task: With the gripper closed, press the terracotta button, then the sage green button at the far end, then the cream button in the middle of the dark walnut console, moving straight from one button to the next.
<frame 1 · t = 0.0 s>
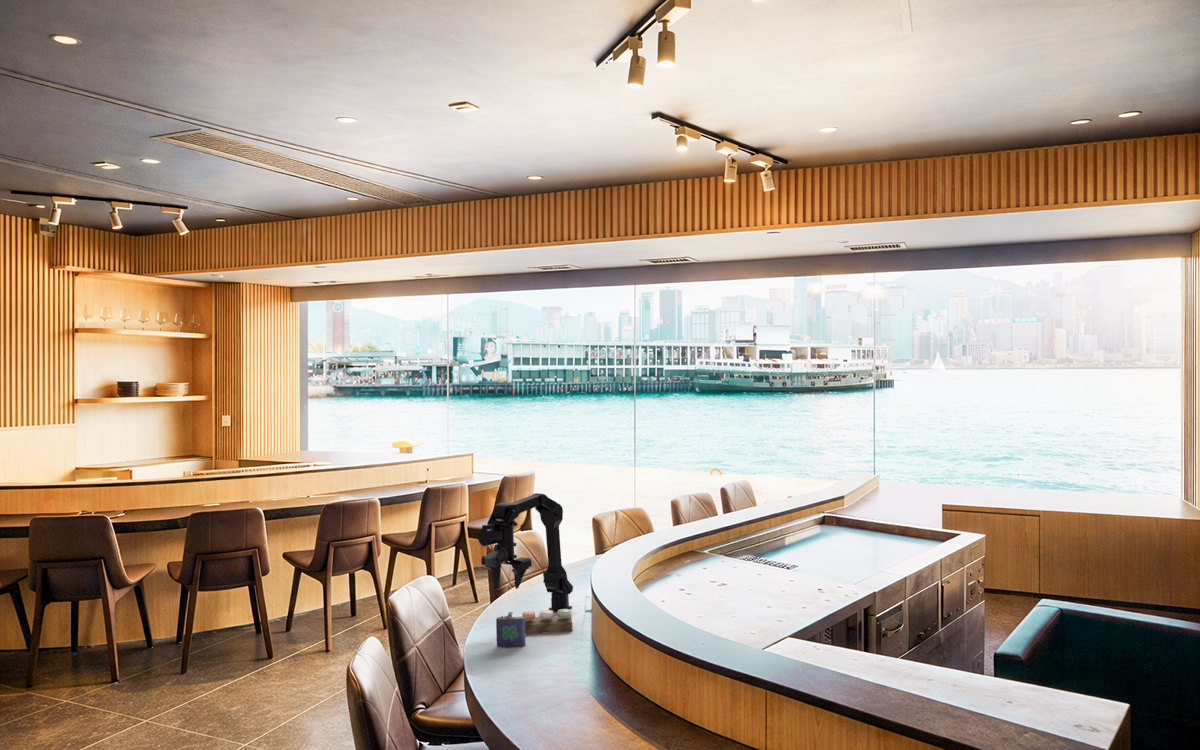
hand: (506, 586, 245), 15 cm above the table, tool pointing down, fingers open, 9 cm apart
console: (547, 629, 244), on the table
button cream: (546, 614, 244), point 5 cm above the table, slide at 0.0 cm
button sage: (564, 613, 245), point 5 cm above the table, slide at 0.0 cm
flask: (511, 646, 228), on the table
button terracotta: (528, 615, 244), point 5 cm above the table, slide at 0.0 cm
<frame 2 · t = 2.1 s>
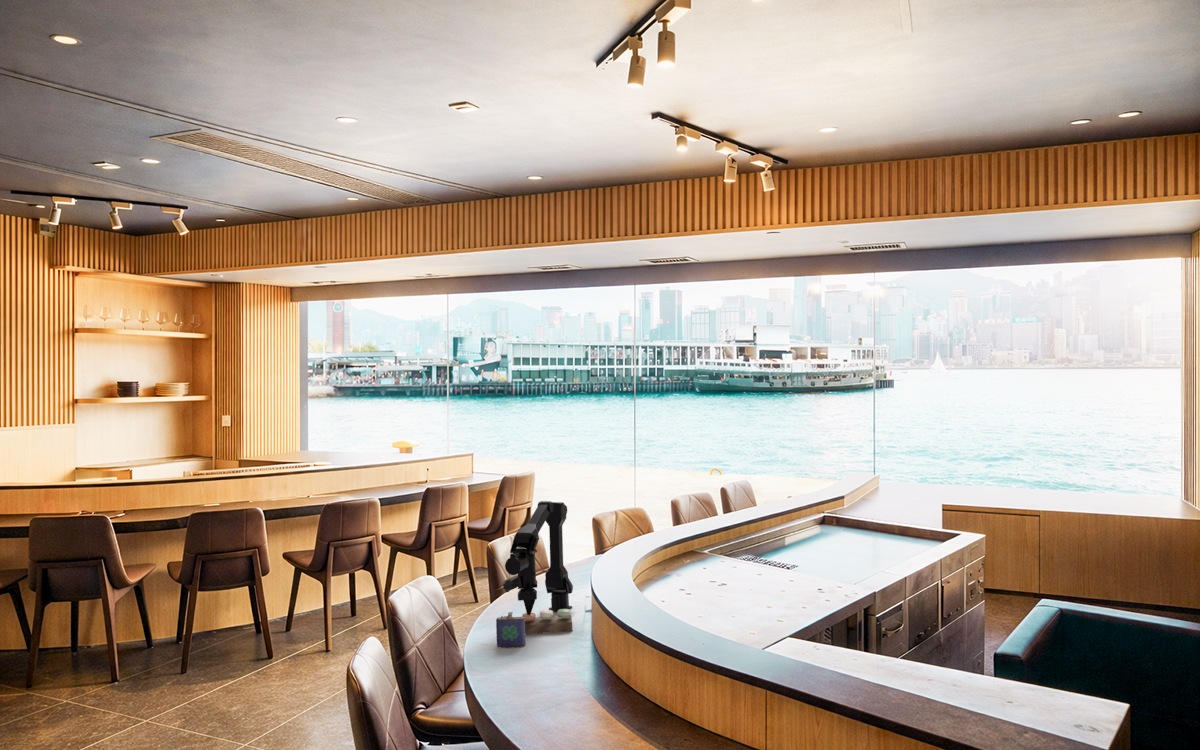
hand: (528, 614, 244), 5 cm above the table, tool pointing down, fingers closed, pressing on button terracotta
button terracotta: (528, 616, 244), point 4 cm above the table, slide at 0.6 cm, touching gripper
everything else where it was.
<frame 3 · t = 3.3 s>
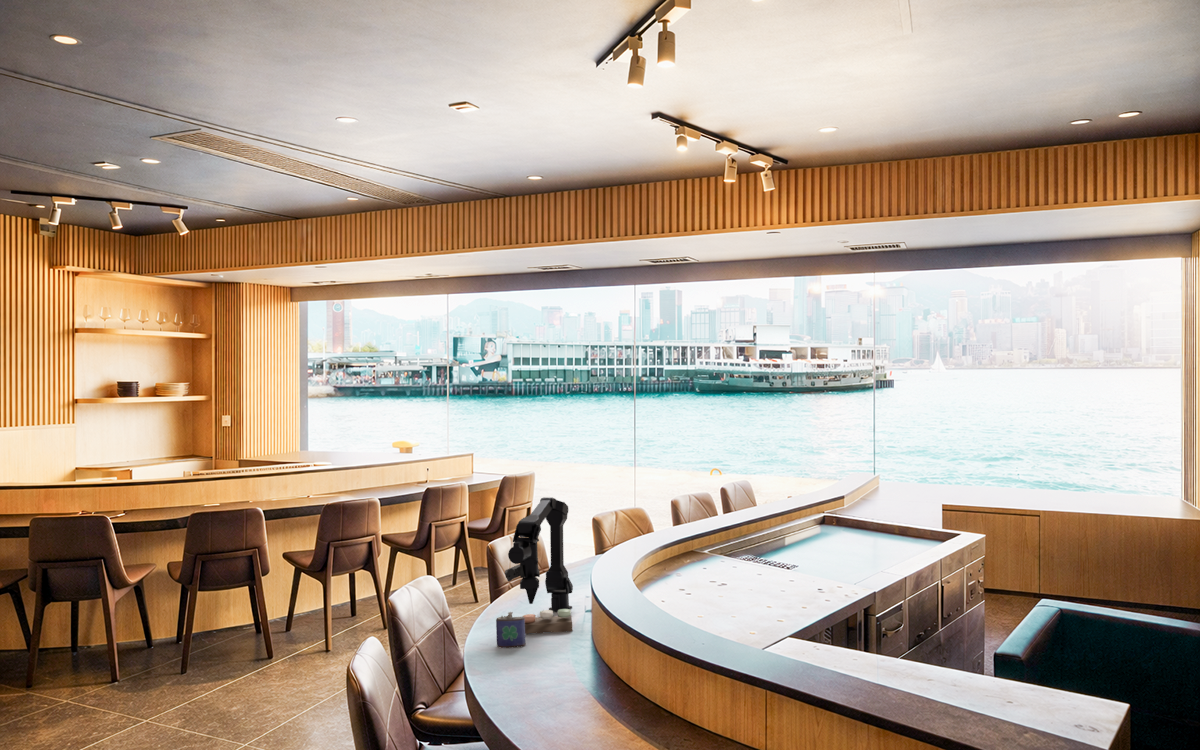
hand: (531, 603, 244), 9 cm above the table, tool pointing down, fingers closed
button terracotta: (528, 618, 244), point 4 cm above the table, slide at 1.1 cm
everything else where it was.
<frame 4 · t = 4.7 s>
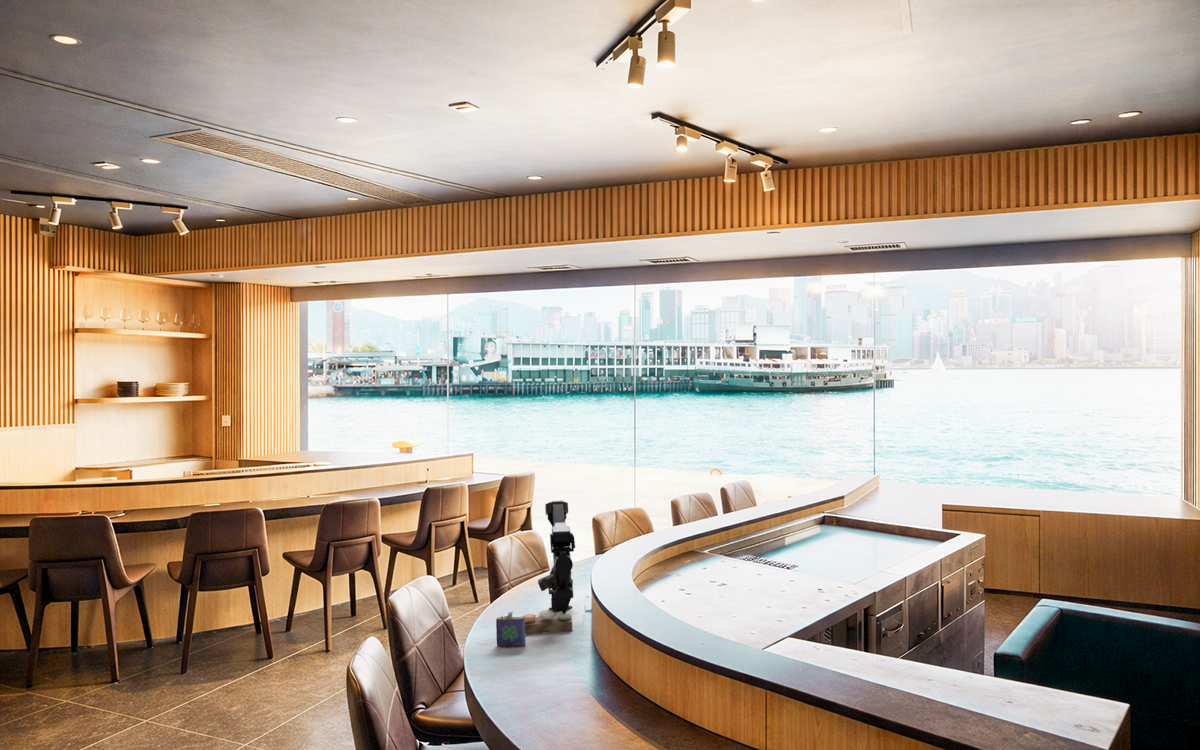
hand: (564, 613, 245), 5 cm above the table, tool pointing down, fingers closed, pressing on button sage
button sage: (564, 615, 245), point 4 cm above the table, slide at 0.8 cm, touching gripper
everything else where it was.
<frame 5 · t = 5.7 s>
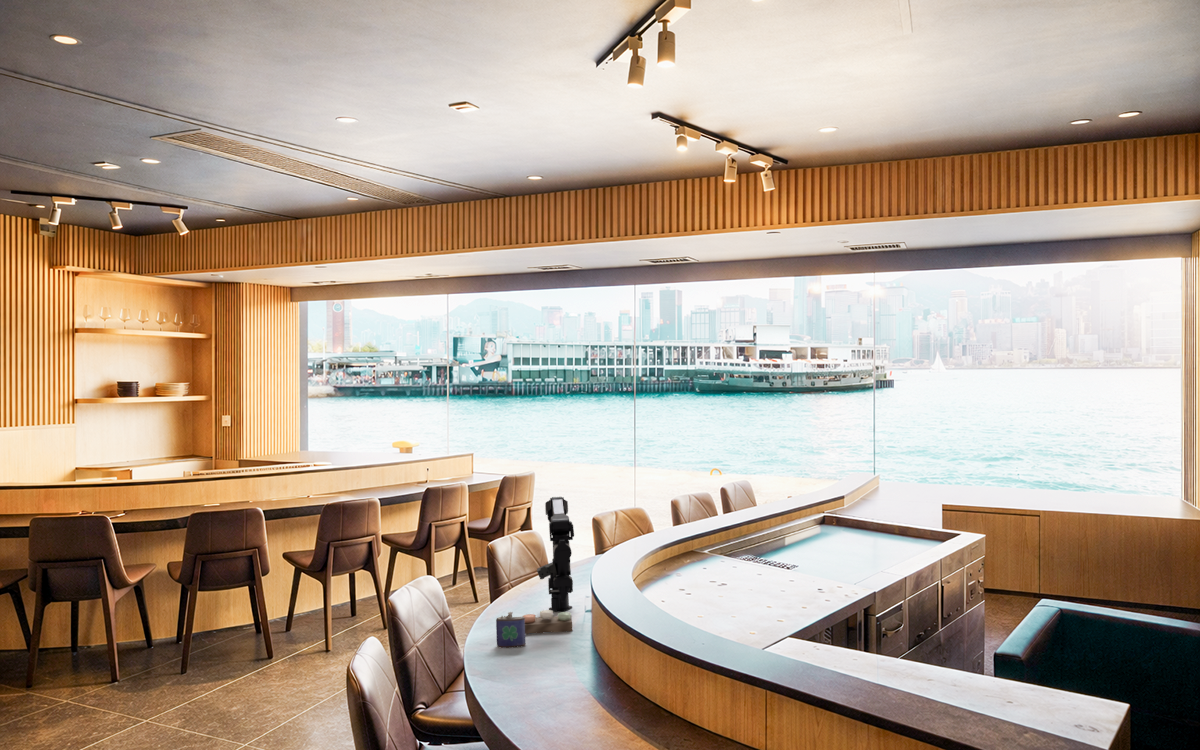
hand: (563, 601, 245), 9 cm above the table, tool pointing down, fingers closed
button sage: (564, 616, 245), point 4 cm above the table, slide at 1.1 cm
everything else where it was.
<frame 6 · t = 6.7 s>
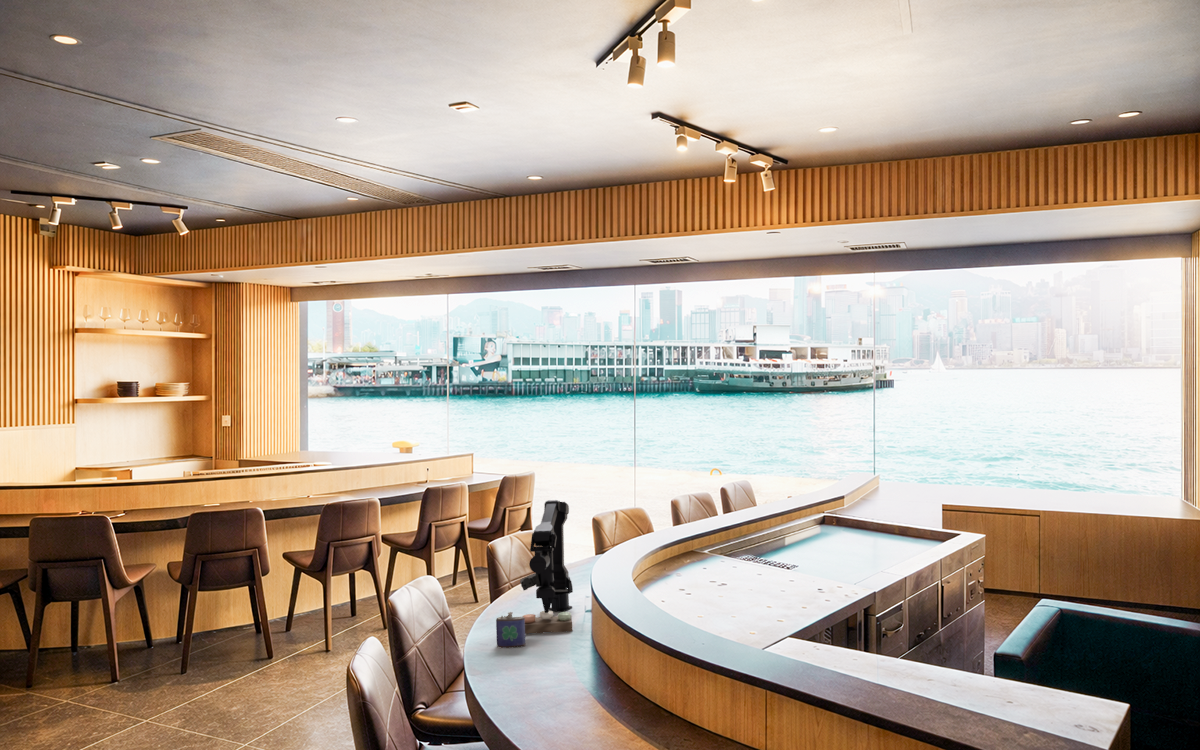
hand: (546, 612, 245), 6 cm above the table, tool pointing down, fingers closed, pressing on button cream
button cream: (546, 614, 244), point 5 cm above the table, slide at 0.2 cm, touching gripper
everything else where it was.
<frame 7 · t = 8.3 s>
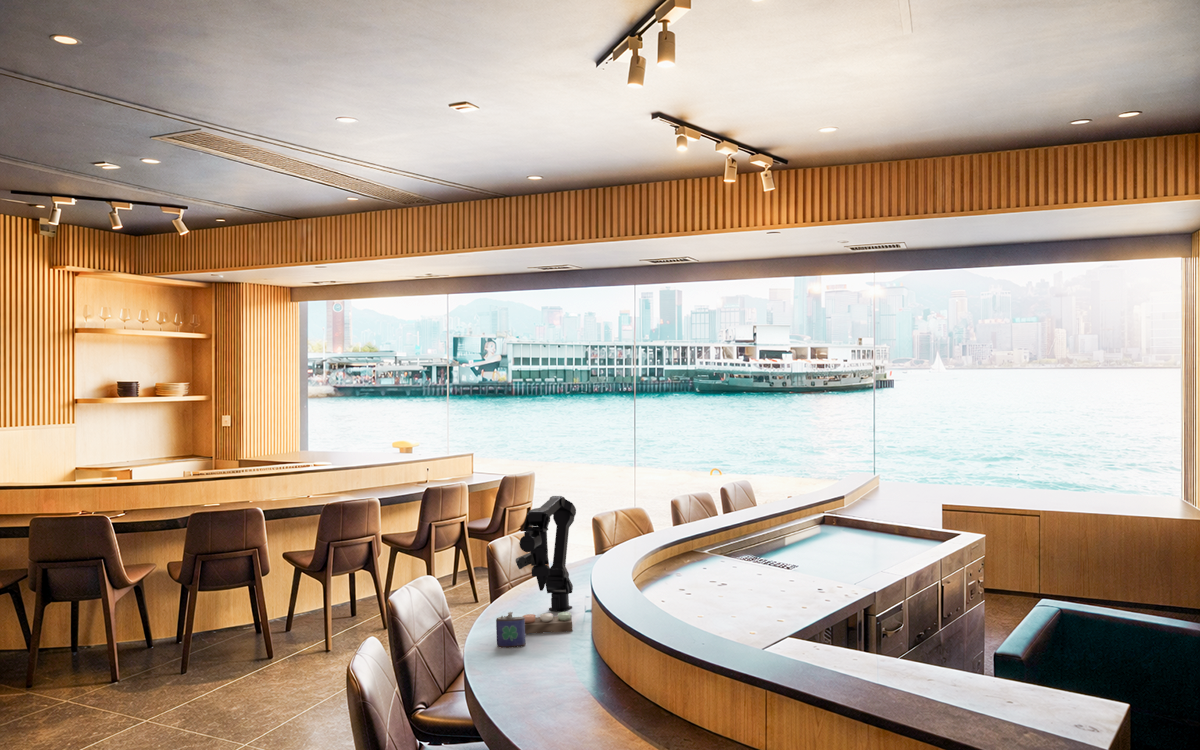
hand: (541, 590, 252), 11 cm above the table, tool pointing down, fingers closed
button cream: (546, 617, 244), point 4 cm above the table, slide at 1.1 cm
everything else where it was.
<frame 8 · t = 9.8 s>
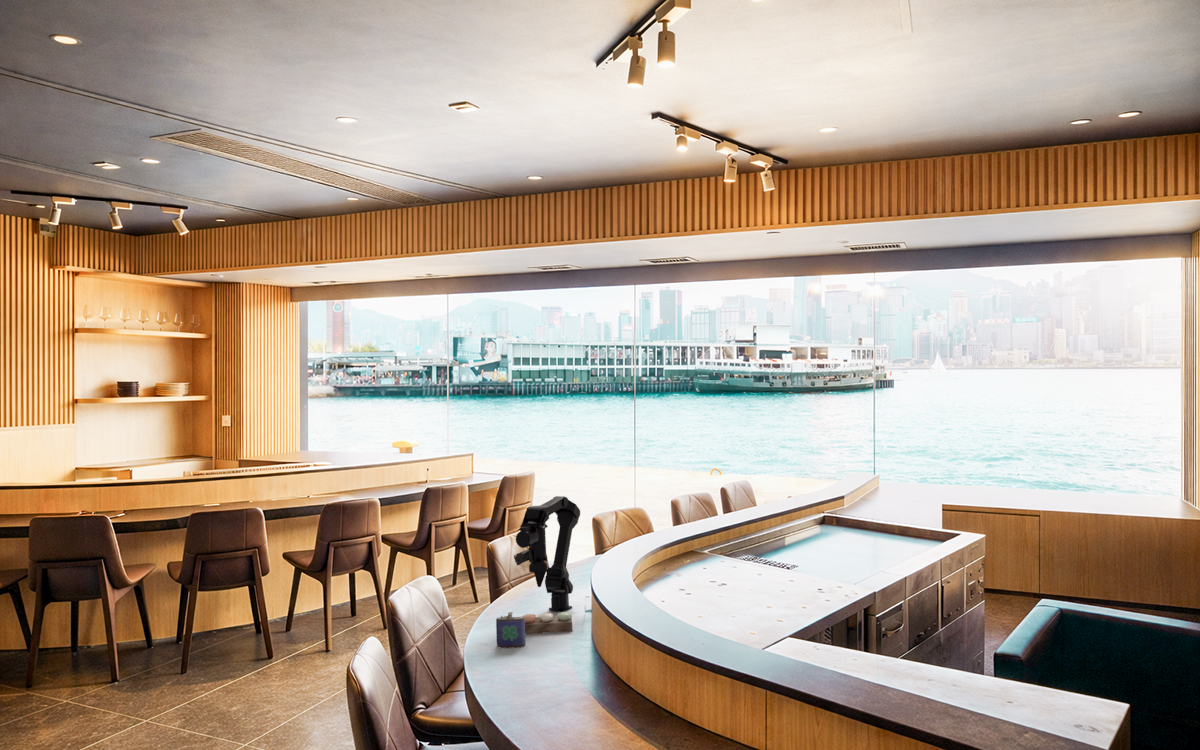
hand: (539, 586, 254), 12 cm above the table, tool pointing down, fingers closed
nothing on the table moved.
at the end: button terracotta slide at 1.1 cm; button sage slide at 1.1 cm; button cream slide at 1.1 cm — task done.
